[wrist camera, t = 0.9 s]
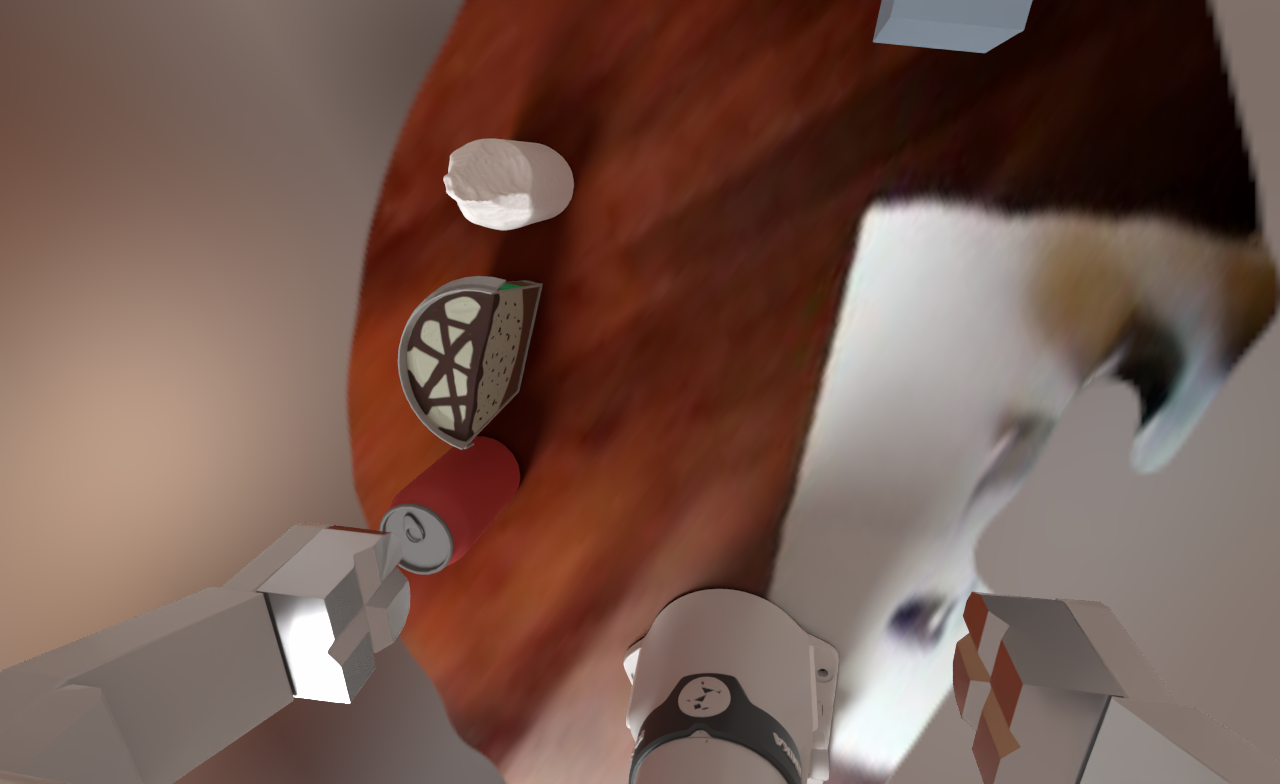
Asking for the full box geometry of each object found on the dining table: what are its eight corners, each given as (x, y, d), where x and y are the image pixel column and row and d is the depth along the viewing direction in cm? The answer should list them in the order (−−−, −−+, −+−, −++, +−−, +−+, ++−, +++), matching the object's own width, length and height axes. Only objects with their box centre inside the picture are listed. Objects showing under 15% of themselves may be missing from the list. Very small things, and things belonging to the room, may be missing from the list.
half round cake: (472, 240, 50) (402, 255, 40) (547, 264, 49) (493, 284, 40) (447, 384, 54) (379, 427, 45) (515, 408, 53) (460, 456, 44)
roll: (522, 152, 35) (499, 252, 37) (583, 158, 46) (563, 234, 48) (422, 117, 35) (404, 217, 37) (506, 131, 47) (489, 208, 49)
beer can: (509, 427, 54) (440, 491, 43) (532, 496, 56) (471, 576, 45) (441, 439, 56) (358, 505, 45) (466, 507, 58) (391, 586, 46)
